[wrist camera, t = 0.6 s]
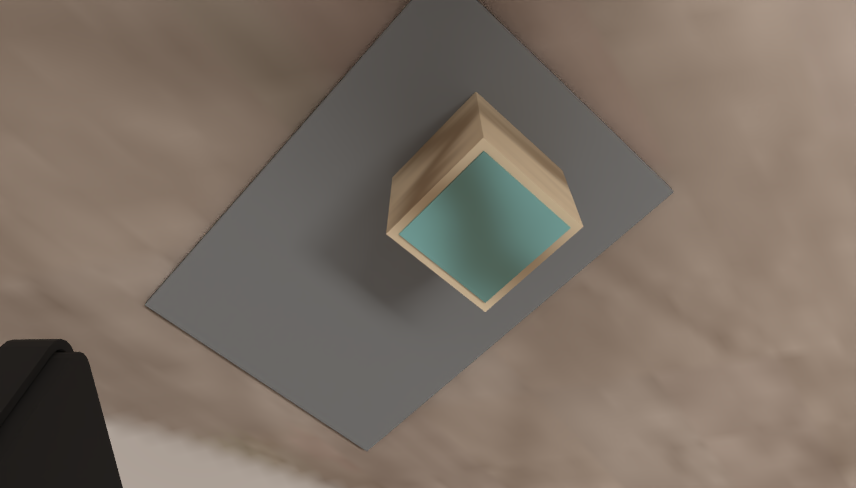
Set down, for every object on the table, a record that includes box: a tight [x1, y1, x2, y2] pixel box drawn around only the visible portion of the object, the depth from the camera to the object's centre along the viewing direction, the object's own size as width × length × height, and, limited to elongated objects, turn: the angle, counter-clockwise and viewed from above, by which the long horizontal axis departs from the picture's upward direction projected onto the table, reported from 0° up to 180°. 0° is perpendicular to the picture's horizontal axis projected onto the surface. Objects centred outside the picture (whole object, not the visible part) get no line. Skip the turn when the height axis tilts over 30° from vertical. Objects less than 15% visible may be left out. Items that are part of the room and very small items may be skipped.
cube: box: [386, 92, 583, 312], centre depth 35 cm, size 6×6×6 cm
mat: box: [145, 0, 673, 451], centre depth 40 cm, size 24×16×1 cm, turn 138°
